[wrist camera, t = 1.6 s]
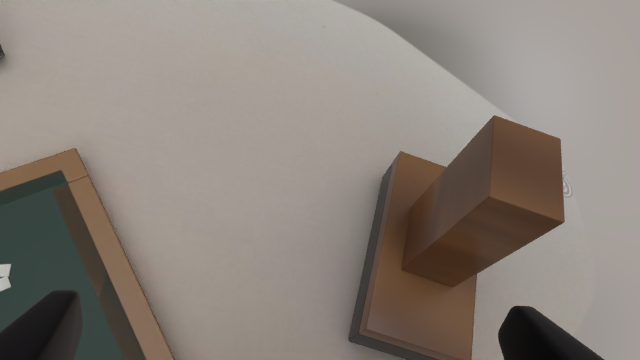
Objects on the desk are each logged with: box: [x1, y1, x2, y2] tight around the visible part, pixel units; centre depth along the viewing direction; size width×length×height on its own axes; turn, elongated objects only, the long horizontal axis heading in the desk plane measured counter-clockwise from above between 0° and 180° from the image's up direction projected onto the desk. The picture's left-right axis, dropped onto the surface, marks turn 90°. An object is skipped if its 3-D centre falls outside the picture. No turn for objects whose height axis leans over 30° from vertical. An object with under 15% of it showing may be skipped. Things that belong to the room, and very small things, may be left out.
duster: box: [349, 115, 565, 360], centre depth 22 cm, size 11×6×12 cm, turn 165°
